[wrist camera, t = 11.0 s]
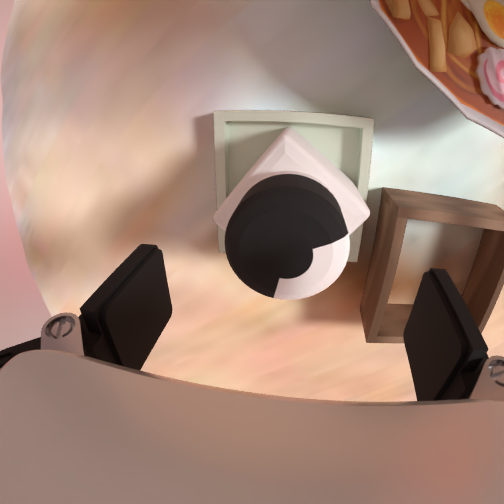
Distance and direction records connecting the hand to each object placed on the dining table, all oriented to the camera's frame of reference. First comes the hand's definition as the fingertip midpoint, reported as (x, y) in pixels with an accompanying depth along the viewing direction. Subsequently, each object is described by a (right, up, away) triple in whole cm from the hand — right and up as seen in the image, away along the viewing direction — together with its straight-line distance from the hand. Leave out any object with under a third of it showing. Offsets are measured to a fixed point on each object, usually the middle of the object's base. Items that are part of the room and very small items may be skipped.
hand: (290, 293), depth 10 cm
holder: (+16, +1, +15) cm, 22 cm away
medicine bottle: (+2, +7, +14) cm, 16 cm away
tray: (+2, +7, +15) cm, 16 cm away
